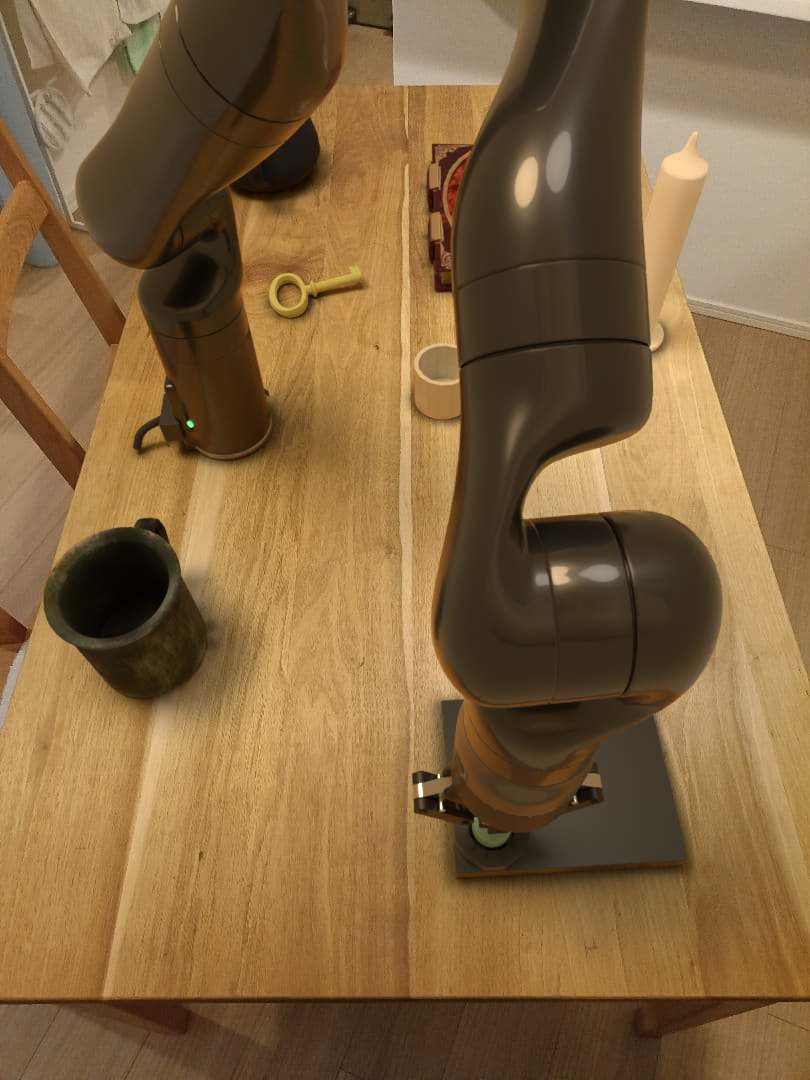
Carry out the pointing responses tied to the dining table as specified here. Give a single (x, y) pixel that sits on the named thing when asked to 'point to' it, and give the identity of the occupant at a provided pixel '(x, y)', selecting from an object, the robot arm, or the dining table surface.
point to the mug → (127, 609)
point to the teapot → (285, 163)
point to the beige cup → (437, 381)
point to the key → (308, 289)
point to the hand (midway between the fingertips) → (495, 819)
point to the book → (443, 206)
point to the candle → (670, 225)
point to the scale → (587, 816)
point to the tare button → (488, 836)
